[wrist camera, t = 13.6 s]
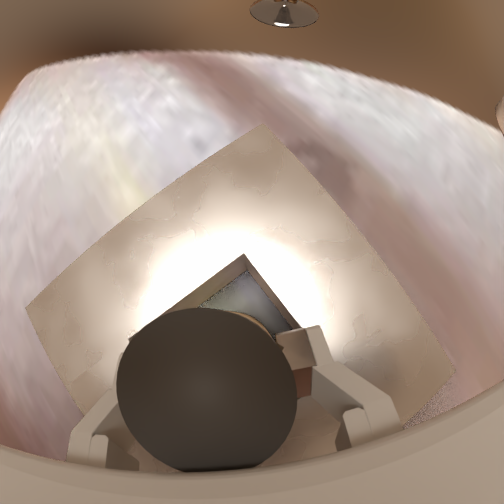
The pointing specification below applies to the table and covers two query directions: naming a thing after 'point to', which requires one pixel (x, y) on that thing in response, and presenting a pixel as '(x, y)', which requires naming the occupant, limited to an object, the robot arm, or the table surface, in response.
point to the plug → (206, 390)
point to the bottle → (500, 113)
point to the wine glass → (284, 13)
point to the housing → (230, 267)
